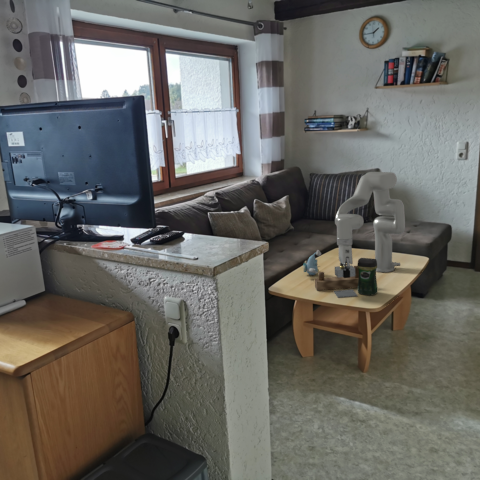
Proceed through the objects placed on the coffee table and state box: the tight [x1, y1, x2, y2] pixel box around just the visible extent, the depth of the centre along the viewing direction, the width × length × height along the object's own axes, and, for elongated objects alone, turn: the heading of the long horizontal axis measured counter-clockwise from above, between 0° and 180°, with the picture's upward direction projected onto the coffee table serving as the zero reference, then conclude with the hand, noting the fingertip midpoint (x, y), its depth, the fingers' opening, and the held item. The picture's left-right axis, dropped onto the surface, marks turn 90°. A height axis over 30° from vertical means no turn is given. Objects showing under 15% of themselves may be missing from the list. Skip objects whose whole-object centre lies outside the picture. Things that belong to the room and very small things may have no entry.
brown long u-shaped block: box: [314, 265, 359, 292], centre depth 261 cm, size 26×6×11 cm, turn 93°
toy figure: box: [302, 249, 322, 276], centre depth 284 cm, size 17×10×15 cm, turn 168°
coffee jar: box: [356, 257, 379, 296], centre depth 248 cm, size 10×8×19 cm
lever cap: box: [334, 264, 355, 278], centre depth 248 cm, size 9×6×5 cm, turn 93°
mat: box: [333, 288, 359, 299], centre depth 251 cm, size 10×9×1 cm
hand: (345, 275), depth 249 cm, fingers closed on lever cap, 6 cm apart
